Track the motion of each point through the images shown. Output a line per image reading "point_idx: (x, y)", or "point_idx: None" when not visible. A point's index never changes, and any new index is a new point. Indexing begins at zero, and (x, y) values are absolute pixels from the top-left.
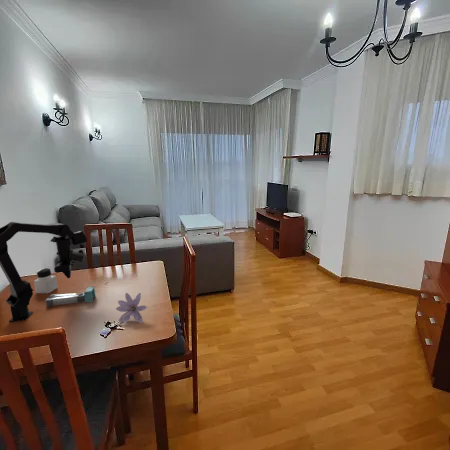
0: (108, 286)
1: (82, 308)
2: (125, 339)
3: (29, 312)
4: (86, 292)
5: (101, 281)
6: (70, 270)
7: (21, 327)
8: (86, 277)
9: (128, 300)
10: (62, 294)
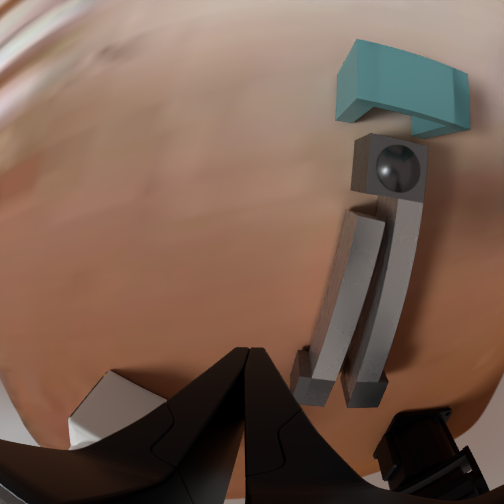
0: (179, 20)
1: (479, 157)
2: None
3: (400, 424)
4: (469, 110)
5: (75, 100)
6: (257, 436)
7: (489, 393)
8: (10, 228)
9: None
10: (330, 333)
